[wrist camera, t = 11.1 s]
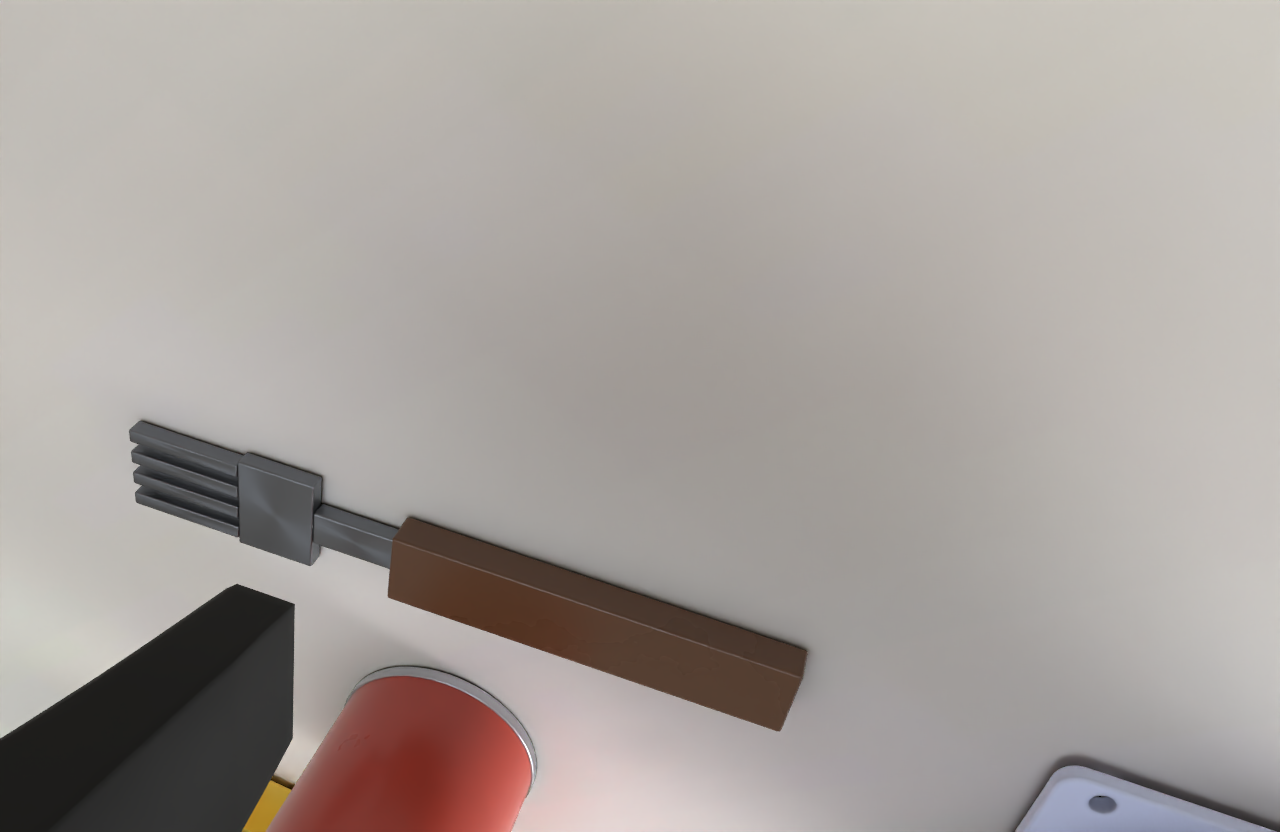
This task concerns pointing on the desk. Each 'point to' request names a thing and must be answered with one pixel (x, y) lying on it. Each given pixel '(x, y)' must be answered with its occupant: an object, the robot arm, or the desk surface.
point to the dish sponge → (267, 807)
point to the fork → (474, 580)
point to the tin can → (414, 761)
